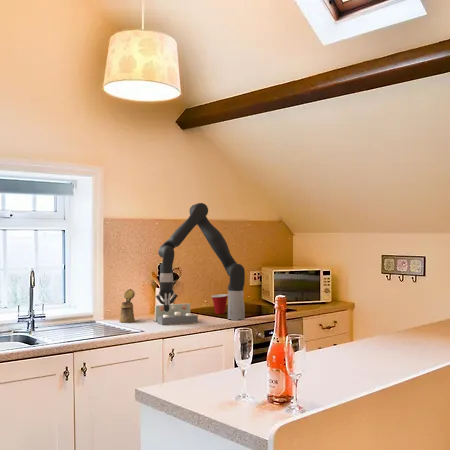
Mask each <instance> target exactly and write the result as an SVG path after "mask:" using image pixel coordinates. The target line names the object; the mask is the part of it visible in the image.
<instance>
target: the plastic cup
mask: <svg viewBox="0 0 450 450" xmlns="http://www.w3.org/2000/svg"><path fill="white" fill-rule="evenodd" d="M211 298H212V299H211V300H212V302H213V303H212V304H213V308H214V313H215V314H216V315H225V314H226V307H227V303H228V293H226V294H224V293H223V294H221V293H220V294H214V295H213V294H212V295H211Z"/></svg>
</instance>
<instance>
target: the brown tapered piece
mask: <svg viewBox="0 0 450 450" xmlns="http://www.w3.org/2000/svg"><path fill="white" fill-rule="evenodd" d="M135 295H136V293H135V291H134V290H133V289H132V288H130V289H127V290H126V291H125V292H124V296H123V297H124V299H126V301H122V302H121V306H120V315H119V323H124V324H129V323H130V324H131V323H135V322H136V319H135V313H134V304H133V302H131V300H132V299H133V298H135Z"/></svg>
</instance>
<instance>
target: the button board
mask: <svg viewBox="0 0 450 450" xmlns="http://www.w3.org/2000/svg"><path fill="white" fill-rule="evenodd" d="M191 314H192V315H191V316H186V314H181V316H176V317H175V315H169V317H163V316H157V322H156V323H157V324H159V325H161V326H167V325H169V324H171V325H181V324H180V323H184V324H194V323H193V322H198V321H199V315H197V314H195V313H191ZM169 326H170V325H169Z"/></svg>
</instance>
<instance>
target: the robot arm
mask: <svg viewBox="0 0 450 450" xmlns="http://www.w3.org/2000/svg"><path fill="white" fill-rule="evenodd" d="M188 212H189V216H188V218H187V219H185V221H184V222H183V223H181V225H179V227H178V228H177V229H176V230H175V231H174V232H173V233H172V234H171V236H170V238H168V239H167V240H166V241H165V242H163V244H161V245H160V247H159V248H158V256H159V257H161V258H162V261H161V263H160V265H159V272H160V274H159V291H158V294H157V295H155V298H156V300H157V301H158V302H159V303H160V305H164V311H165V312H168V311H169V305H172V304H174V302H175V300H176V299H177V298H178V295H177V294H176V293H175V292H174V274H173V271H174V270H173V264H174V260H175V250H174V249H175V248H178V247H179V246H180V245H181V244H182V243H183V242H184V241H185V239H186V238H187V236H189V234H190V233H191V232H192V230H193V229H194V228H195V227H196V226H198V228H199V229H200V231H201V233H202V234H203V236H204V238H205V239H206V241H207V243H208V244H209V246H210V248H211V249H212V251H213V252H214V254H215V255H216V256H217V258H218V259H219V261H220V262H221V264H222V266H223V268H224V270H225V272H226V274H227V276H229V283H228V285H227V294H228V296H227V320H229V319H231V320H230V321H239V320H238V319H242V320H245V317H246V315H245V312H246V311H245V310H246V309H245V308H246V307H245V305H246V304H245V302H244V287H245V284H246V283H245V280H246V279H245V278H246V277H245V276H246V273H245V268H244V266H243V265H242V264H241V263H238V262H237V261H236V259H235V258H234V257H233V256H232V254H231V252H230V249H229V246H228V243H227V241H226V239H225V238H224V236H223V234H222V233H221V232H220V230H218V229H217V228H216V227H215V226H214V225H213V224H212V223H211V222H210V220H209V218H208V217H207V216H208V214H209V207H208V205H206V204H205V203H203V202H199V203H195V204H192V205H191V206H190V208H189V211H188Z"/></svg>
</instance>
